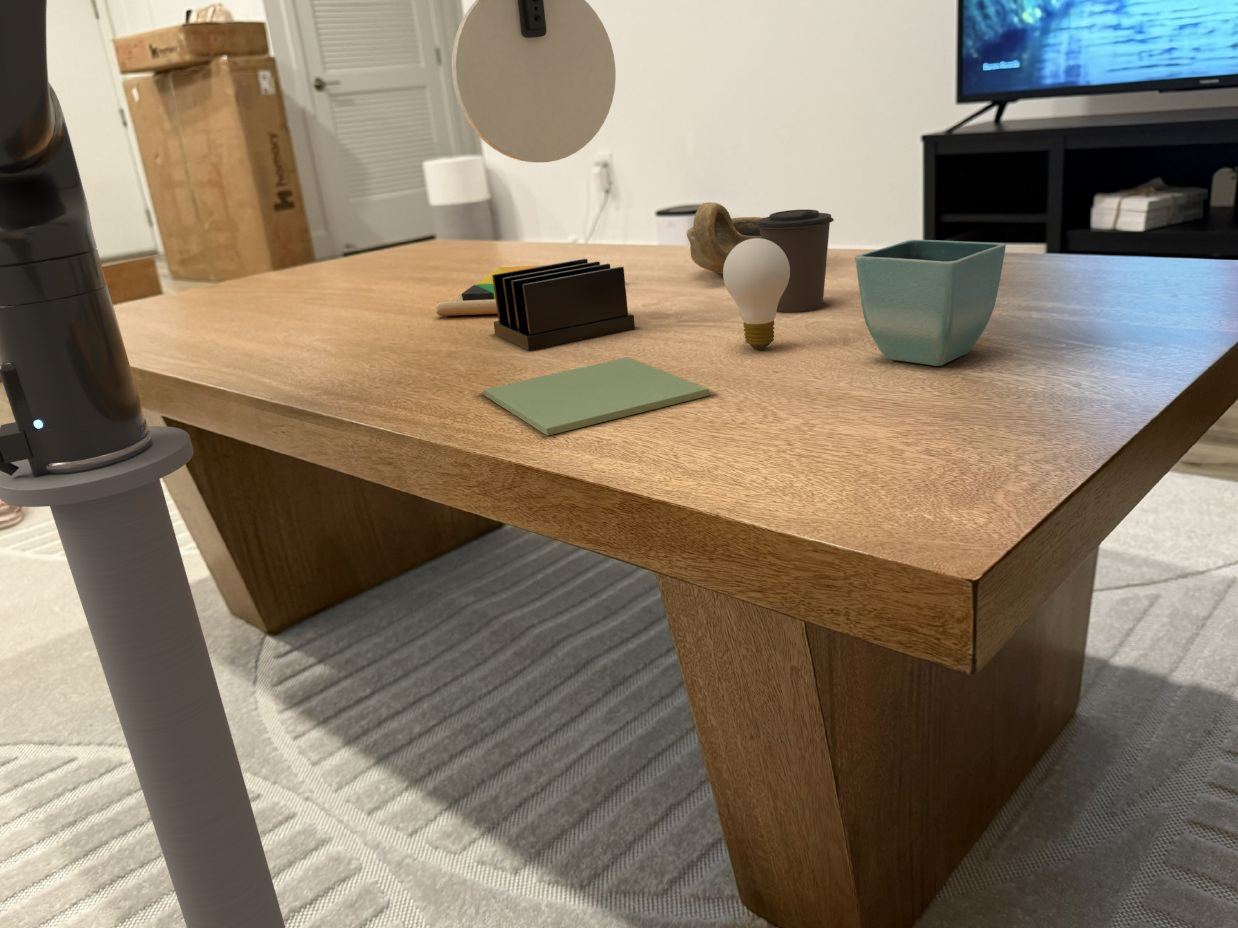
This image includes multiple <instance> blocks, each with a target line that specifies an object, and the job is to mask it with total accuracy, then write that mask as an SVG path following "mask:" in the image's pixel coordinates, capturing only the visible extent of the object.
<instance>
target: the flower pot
mask: <svg viewBox="0 0 1238 928" xmlns="http://www.w3.org/2000/svg"><path fill="white" fill-rule="evenodd" d="M1006 248H1007V244H1006V243H1004V242H1003V243H1002V242H1000V243H999V242H983V241H982V242H981V241H980V242H979V241H961V240H960V241H959V240H956V241H955V240H938V239H937V240H936V239H935V240H934V239H933V240H932V239H909V240H905V241H901V242H898V243H895V244H892V245H889V246H886V247H885V246H884V247H882V248H879V249H875V250H871V251H868V252H864V253H861V254H858V255H856V256H855V257H854V260H855V267H856V275H857V282H858V290H859V298H860V302H861V303H860V305H861V311H862V315H863V318H864V322H865V324H866V327H867V330H868V332H869V334H870V336H871V339H872V340H873V341H874V343H875V344H876V346H877V348H878V349H879V351H880V352H881V353H882V355H883V356H884V357H885V359H887V360H892V361H895V362H896V361H897V362H898V361H901V362H908V363H913V364H914V363H915V364H920V365H927V366H933V367H940V366H943V365H945V364H947V363H950V362H952V361H953V360H956V359H958V358H960V357H962V356H965V355H966V354H968V353H970V351H971V350H972V349H973V348H974V346H975V345H976V343H977V342H978V341H979V339H980V338H981V336H982V334H983V332H984V331H985V329H986V327H987V325H988V323H989V321H990V319H991V317H992V314H993V311H994V308H995V305H996V302H997V297H998V293H999V292H998V291H999V287H1000V283H1001V282H1000V281H1001V277H1002V270H1003V265H1004V259H1005V253H1006Z"/></svg>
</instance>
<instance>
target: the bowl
mask: <svg viewBox="0 0 1238 928" xmlns="http://www.w3.org/2000/svg"><path fill="white" fill-rule="evenodd" d="M765 217H766V216H765ZM765 217H760V216H743V217H731V214H730V212H729V211H728V208H726V207H725V206H724V205H722V204H720V203H718V202H711V201H710V202H703V203H701V205H699V206H698V208H697V209H696V212H695V214H694V217H693V226H691V227H690V228H688V229H687V231H686V232H685V233H686V238H687V239H688V242H689V245H690V250H689V251H690V258H691V260H692V261H693V262H694V264H695V265H697V266H698V267H700V268H702V269H705V270H707V271H710V272H713V273H717V274H722V275H723V268H724V263H725V260H726V258H727V256H728V255H729V253H730V252H731V250H732V249H733V248H734V247H735V246H737V245H738V244H740V243H741V242H743V241H745V240H749V239H754V238H761V233H760V228H757V227H756V226H755V225H756V224H757V223H758V220H759V219H762V218H765Z"/></svg>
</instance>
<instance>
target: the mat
mask: <svg viewBox="0 0 1238 928" xmlns="http://www.w3.org/2000/svg"><path fill="white" fill-rule="evenodd" d="M483 395H484V396H485V398H487V399H489V400H491V401H492V402H494V403H495V404H497V405H498V406H500V407H502V408H503V409H504V410H506V411H508V412H510V413H511V414H512V415H514V416H516V417H517V418H518V419H520V420H522V421H523V422H524V423H526V424H528V425H530V426H531V427H533V428H534V429H536V430H538V431H539V432H540V433H542V434H544V435H545V436H548V437H549V436H552V435H557V434H560V433H564V432H569V431H572V430H577V429H581V428H584V427H589V426H592V425H597V424H600V423H604V422H609V421H612V420H616V419H617V420H618V419H621V418H625V417H629V416H633V415H638V414H640V413H645V412H648V411H654V410H656V409H661V408H664V407H669V406H674V405H677V404H681V403H686V402H689V401H693V400H697V399H701V398H706V397H709V396H710V390H709V388H708V387H705V386H702V385H700V384H697V383H695V382H693V381H690V380H687V379H684V378H682V377H680V376H677V375H675V374H672V373H669V372H667V371H664V370H662V369H660V368H657V367H655V366H651V365H649V364H646V363H644V362H641V361H639V360H636V359H634V358H631V357H629V356H627V357H623V358H617V359H613V360H609V361H604V362H600V363H595V364H590V365H586V366H582V367H578V368H573V369H568V370H564V371H563V370H562V371H558V372H555V373H551V374H546V375H542V376H536V377H531V378H527V379H524V380H519V381H515V382H510V383H504V384H501V385H497V386H491V387H487V388H484V389H483Z"/></svg>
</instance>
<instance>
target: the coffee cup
mask: <svg viewBox="0 0 1238 928" xmlns="http://www.w3.org/2000/svg"><path fill="white" fill-rule="evenodd" d="M761 218H762V219H759V220H758V223H757V224H756V225H755V226H756V227H757V228H760V233H761V239H766V240H769V241H771V242H773V243H775V244H776V245H778V246H779V247H780V248H781V249H782V250H783V252H784V253H785V255H786V257H787V259H788V262H789V266H790V277H789V282H788V285H787V287H786V289H785V291H784V292H783V294H782V296H781V298H780V300H779V302H778V306H777V310H776V312H781V313H799V312H807V311H808V312H809V311H814V310H817V309H820V308H822V307H823V305H824V296H825V295H824V293H825V284H826V272H827V261H828V250H829V237H830V227H831V226H830V225H831V223H833V222H834V221H835V219H834V218H833V217H832V214H830V213H827V212H820V211H819V210H817V209H791V210H790V209H789V210H781V211H777V212H773V213H771V214H769V216H765V218H764V217H761Z"/></svg>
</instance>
